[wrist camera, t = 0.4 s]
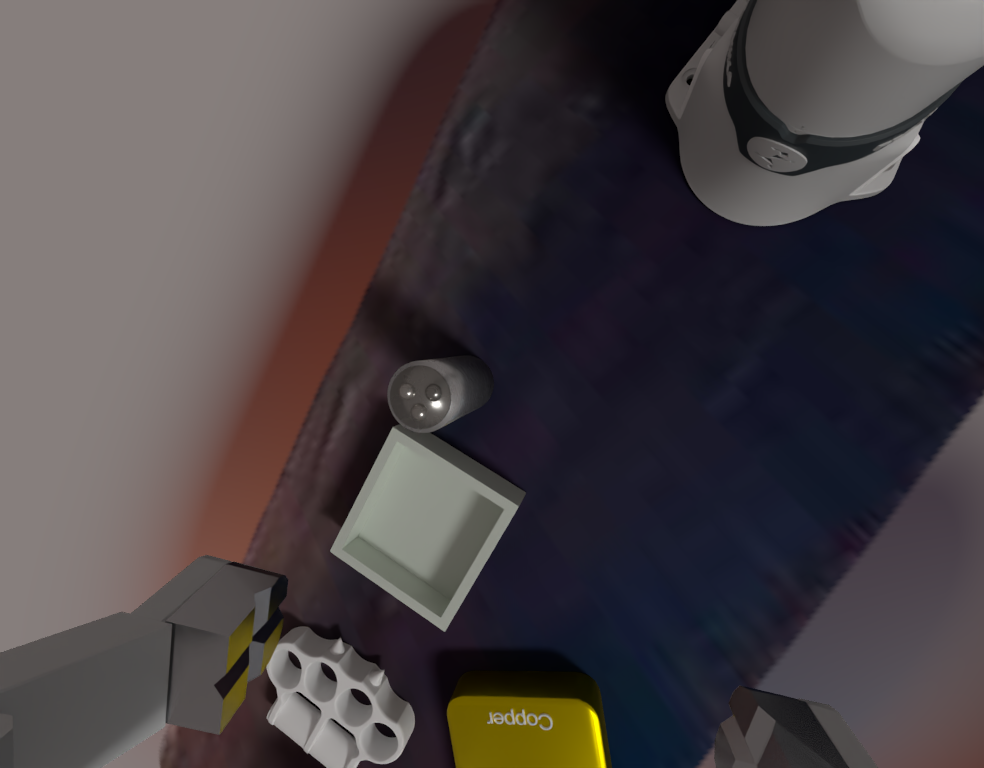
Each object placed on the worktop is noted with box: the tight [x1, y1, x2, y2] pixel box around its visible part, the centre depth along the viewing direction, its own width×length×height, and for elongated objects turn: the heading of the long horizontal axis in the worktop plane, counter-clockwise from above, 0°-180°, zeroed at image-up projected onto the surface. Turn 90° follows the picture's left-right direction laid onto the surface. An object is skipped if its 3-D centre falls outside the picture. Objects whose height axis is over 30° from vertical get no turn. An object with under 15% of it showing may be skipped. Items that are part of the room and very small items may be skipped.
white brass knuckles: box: [266, 626, 415, 768], centre depth 54 cm, size 3×18×15 cm
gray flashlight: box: [388, 355, 494, 433], centre depth 42 cm, size 6×6×13 cm
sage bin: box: [330, 424, 526, 632], centre depth 48 cm, size 15×14×4 cm
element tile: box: [447, 671, 612, 768], centre depth 48 cm, size 15×15×5 cm
